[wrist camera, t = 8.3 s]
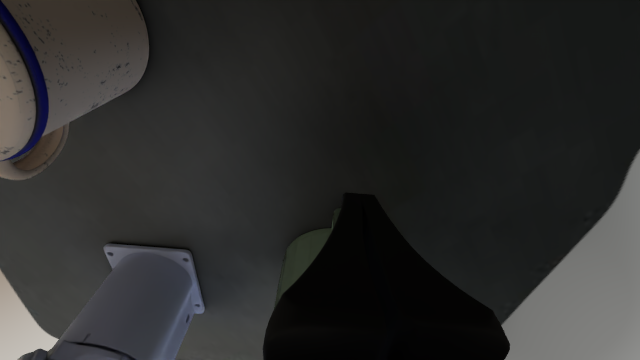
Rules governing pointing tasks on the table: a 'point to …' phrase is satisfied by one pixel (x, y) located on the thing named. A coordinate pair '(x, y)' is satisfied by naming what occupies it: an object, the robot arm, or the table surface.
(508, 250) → the table surface
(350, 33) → the table surface
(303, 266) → the mug
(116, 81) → the teacup with lid
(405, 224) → the table surface
